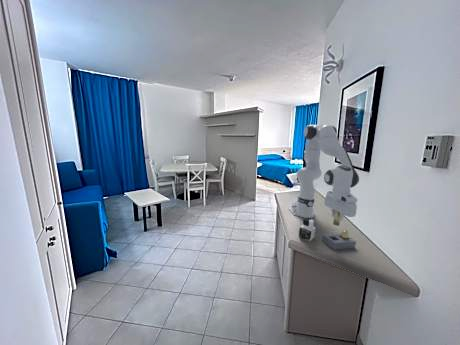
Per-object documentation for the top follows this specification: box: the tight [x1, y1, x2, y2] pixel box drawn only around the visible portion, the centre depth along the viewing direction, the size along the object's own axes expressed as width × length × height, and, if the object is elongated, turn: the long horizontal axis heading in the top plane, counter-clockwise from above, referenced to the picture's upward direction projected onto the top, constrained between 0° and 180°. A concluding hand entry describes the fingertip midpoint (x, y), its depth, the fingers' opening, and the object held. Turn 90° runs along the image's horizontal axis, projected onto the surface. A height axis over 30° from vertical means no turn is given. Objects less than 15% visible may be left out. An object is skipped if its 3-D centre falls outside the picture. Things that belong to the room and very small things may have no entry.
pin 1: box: [332, 211, 341, 227], centre depth 115 cm, size 3×3×8 cm
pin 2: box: [341, 229, 349, 240], centre depth 119 cm, size 3×3×8 cm
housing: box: [321, 232, 357, 251], centre depth 119 cm, size 14×10×4 cm
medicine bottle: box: [298, 217, 316, 242], centre depth 124 cm, size 7×7×12 cm
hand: (337, 218), depth 116 cm, fingers closed on pin 1, 3 cm apart
